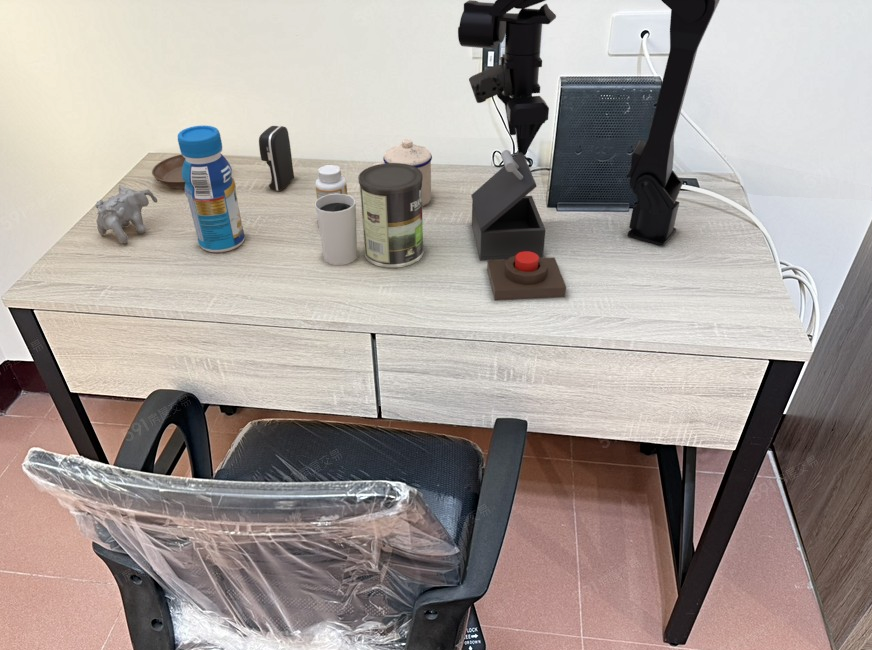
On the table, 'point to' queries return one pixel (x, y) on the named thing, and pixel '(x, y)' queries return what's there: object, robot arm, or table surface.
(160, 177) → the saucer
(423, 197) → the cream enamel canister
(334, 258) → the white coffee mug
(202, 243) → the beverage bottle
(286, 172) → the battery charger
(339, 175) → the supplement bottle
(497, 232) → the black box
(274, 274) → the table surface
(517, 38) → the robot arm
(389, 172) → the coffee can
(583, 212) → the table surface
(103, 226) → the gray elephant figurine
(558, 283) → the brown button base
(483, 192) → the lid
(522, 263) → the release button
